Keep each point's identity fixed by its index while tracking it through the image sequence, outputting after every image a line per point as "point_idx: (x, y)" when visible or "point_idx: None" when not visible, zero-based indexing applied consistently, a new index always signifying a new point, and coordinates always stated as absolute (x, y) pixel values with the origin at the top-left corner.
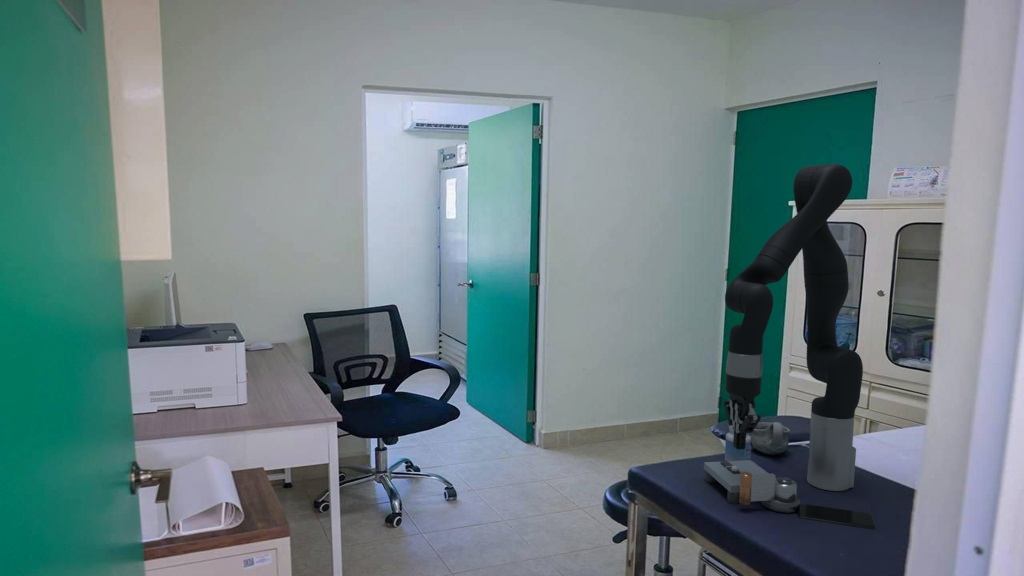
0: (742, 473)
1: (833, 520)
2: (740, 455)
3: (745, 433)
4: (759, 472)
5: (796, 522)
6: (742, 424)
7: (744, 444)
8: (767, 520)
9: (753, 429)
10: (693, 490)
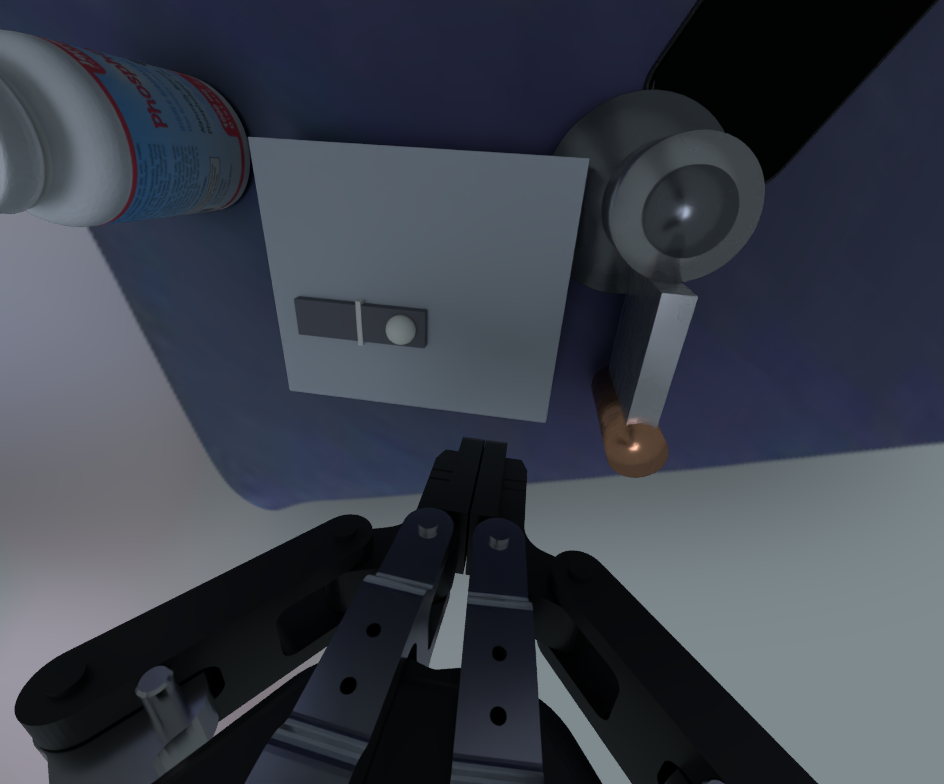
0: (622, 464)
1: (910, 19)
2: (193, 167)
3: (530, 551)
4: (426, 198)
5: (789, 230)
6: (585, 711)
7: (525, 482)
8: (714, 337)
9: (639, 608)
10: (415, 437)
